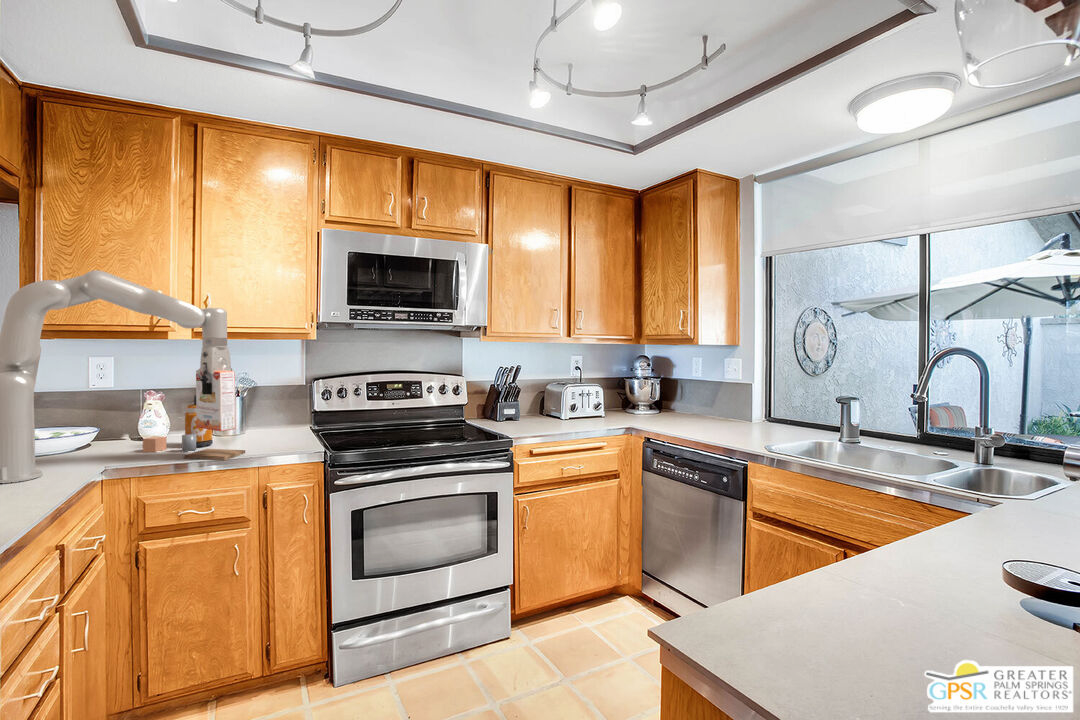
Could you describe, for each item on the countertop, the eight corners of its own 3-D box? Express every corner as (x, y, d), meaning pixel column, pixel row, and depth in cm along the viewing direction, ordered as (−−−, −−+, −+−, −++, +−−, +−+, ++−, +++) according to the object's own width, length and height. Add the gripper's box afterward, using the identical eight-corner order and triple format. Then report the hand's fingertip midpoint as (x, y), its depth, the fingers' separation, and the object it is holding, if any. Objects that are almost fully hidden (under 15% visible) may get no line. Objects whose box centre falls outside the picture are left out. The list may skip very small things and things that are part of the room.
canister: (186, 449, 203) (185, 396, 203) (184, 444, 212) (183, 393, 212) (213, 446, 209) (213, 394, 208) (210, 441, 218) (210, 392, 217)
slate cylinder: (190, 452, 198) (190, 436, 198) (179, 452, 198) (178, 435, 198) (199, 450, 202) (198, 434, 202) (188, 449, 203) (187, 433, 202)
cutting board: (224, 460, 186) (224, 456, 186) (184, 458, 188) (184, 455, 188) (245, 453, 197) (245, 450, 197) (207, 451, 199) (207, 448, 199)
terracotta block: (155, 452, 197) (155, 439, 197) (143, 452, 197) (142, 438, 197) (166, 450, 202) (166, 436, 202) (154, 449, 202) (154, 436, 202)
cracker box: (195, 428, 193) (194, 369, 192) (212, 426, 198) (211, 369, 198) (219, 431, 187) (219, 371, 186) (236, 429, 192) (235, 370, 191)
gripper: (207, 343, 182) (207, 395, 183) (241, 343, 199) (241, 391, 200) (186, 343, 183) (187, 395, 184) (222, 342, 200) (222, 390, 201)
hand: (215, 392), depth 192 cm, fingers closed on cracker box, 7 cm apart
